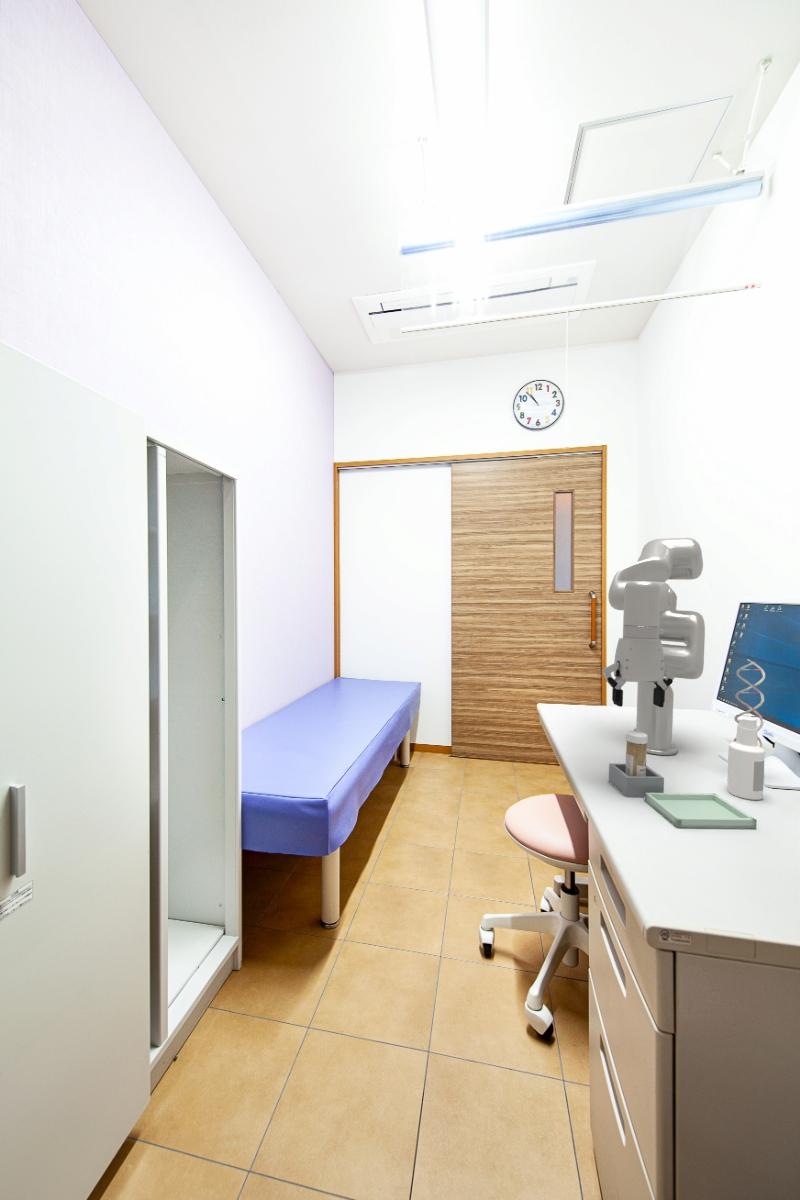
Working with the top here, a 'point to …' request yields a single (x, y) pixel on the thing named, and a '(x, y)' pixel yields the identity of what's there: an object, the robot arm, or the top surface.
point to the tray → (699, 811)
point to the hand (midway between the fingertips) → (638, 705)
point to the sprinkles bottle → (636, 753)
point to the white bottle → (746, 762)
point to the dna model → (752, 693)
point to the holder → (635, 781)
